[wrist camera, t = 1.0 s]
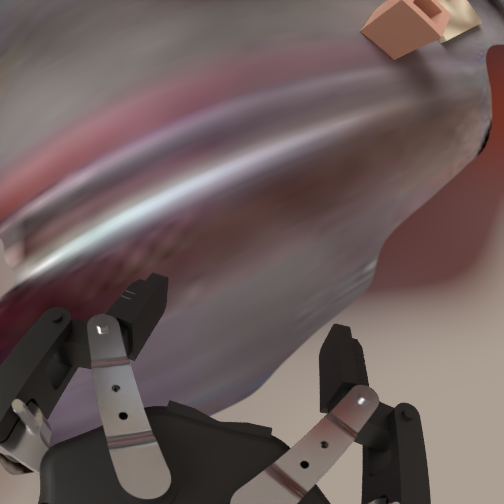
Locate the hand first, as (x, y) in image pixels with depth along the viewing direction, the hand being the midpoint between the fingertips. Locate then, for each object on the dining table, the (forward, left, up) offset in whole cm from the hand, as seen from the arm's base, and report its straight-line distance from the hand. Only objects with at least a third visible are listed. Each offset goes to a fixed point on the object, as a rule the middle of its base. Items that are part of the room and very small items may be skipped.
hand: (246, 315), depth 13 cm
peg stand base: (-13, +54, -19) cm, 59 cm away
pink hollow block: (-9, +34, -19) cm, 40 cm away
